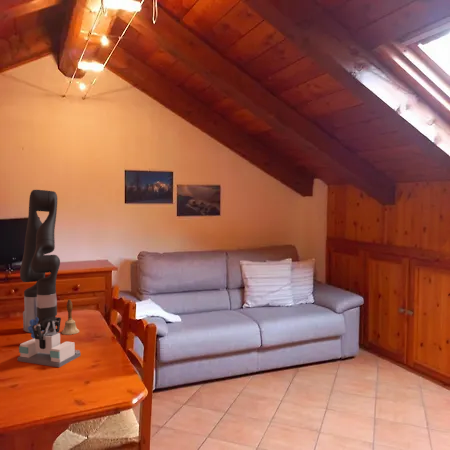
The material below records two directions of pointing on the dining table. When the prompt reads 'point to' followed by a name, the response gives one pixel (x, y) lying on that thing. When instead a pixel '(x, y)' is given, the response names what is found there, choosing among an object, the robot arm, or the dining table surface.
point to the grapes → (30, 329)
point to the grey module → (48, 342)
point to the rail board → (55, 358)
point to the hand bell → (70, 322)
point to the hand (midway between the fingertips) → (47, 346)
